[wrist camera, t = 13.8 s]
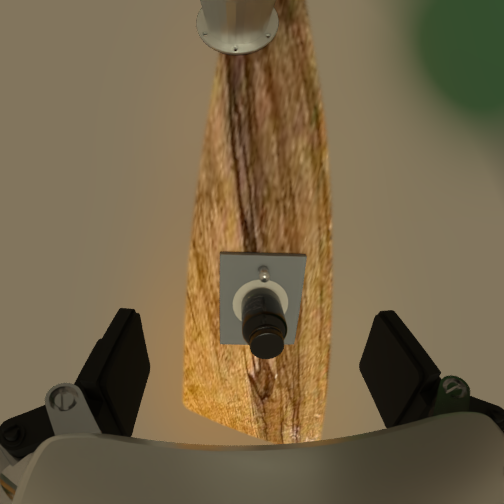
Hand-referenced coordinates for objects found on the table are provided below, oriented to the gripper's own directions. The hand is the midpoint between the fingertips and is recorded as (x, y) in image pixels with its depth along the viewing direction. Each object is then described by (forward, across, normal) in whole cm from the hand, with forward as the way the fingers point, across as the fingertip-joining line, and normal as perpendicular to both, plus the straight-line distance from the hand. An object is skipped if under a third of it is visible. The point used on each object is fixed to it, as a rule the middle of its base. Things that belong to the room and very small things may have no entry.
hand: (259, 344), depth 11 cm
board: (+35, -4, +19) cm, 40 cm away
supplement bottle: (+34, -4, +19) cm, 39 cm away
